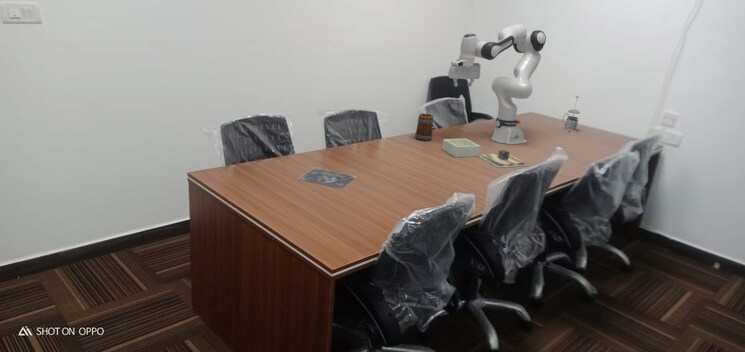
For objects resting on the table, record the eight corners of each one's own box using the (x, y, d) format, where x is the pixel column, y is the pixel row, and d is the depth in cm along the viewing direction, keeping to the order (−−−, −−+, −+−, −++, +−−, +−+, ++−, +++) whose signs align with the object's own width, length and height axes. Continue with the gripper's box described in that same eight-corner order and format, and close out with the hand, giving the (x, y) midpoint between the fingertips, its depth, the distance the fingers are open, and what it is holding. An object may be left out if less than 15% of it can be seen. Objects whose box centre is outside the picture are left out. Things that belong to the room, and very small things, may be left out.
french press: (579, 132, 354) (587, 97, 345) (563, 131, 353) (570, 96, 345) (574, 129, 363) (581, 95, 354) (558, 128, 363) (565, 93, 354)
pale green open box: (464, 148, 293) (465, 138, 291) (478, 156, 281) (480, 145, 278) (442, 149, 288) (443, 139, 286) (455, 157, 275) (457, 147, 273)
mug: (431, 142, 300) (434, 117, 295) (413, 140, 302) (416, 115, 297) (433, 135, 314) (436, 112, 309) (416, 133, 316) (419, 110, 311)
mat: (506, 155, 287) (506, 154, 286) (527, 166, 270) (527, 165, 270) (478, 156, 279) (478, 155, 279) (498, 168, 263) (498, 167, 263)
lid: (506, 155, 285) (507, 146, 283) (525, 164, 271) (526, 155, 269) (480, 156, 279) (482, 147, 277) (499, 166, 264) (500, 157, 262)
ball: (461, 149, 286) (462, 143, 285) (465, 151, 283) (466, 145, 281) (455, 150, 285) (456, 143, 283) (459, 152, 281) (460, 145, 280)
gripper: (477, 62, 300) (474, 85, 304) (448, 61, 292) (445, 85, 296) (484, 63, 294) (480, 87, 299) (454, 63, 286) (451, 87, 291)
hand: (462, 86), depth 298 cm, fingers open, 8 cm apart
